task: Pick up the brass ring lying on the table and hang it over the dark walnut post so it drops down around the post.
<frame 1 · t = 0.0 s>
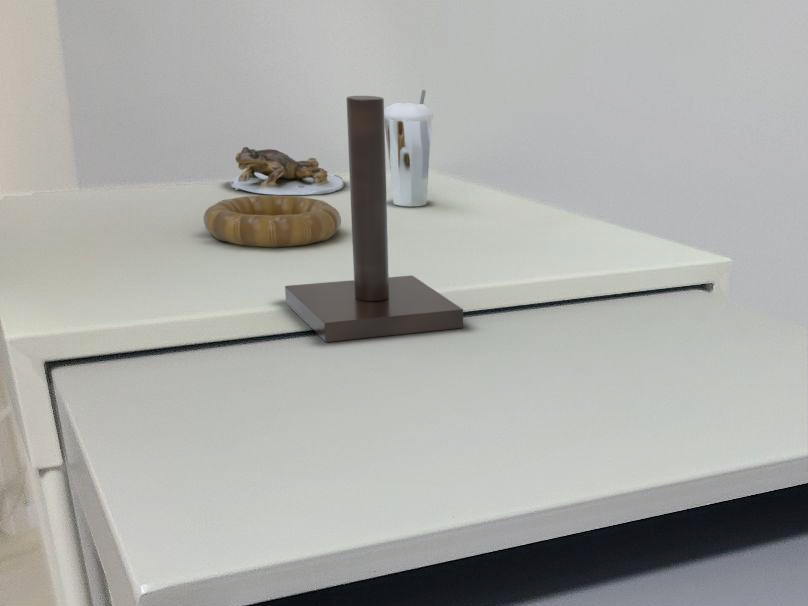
post: (372, 315, 70), on the cabinet
ring: (273, 220, 89), point 1 cm above the cabinet
milkshake: (412, 205, 104), on the cabinet
frog figurine: (287, 187, 109), on the cabinet
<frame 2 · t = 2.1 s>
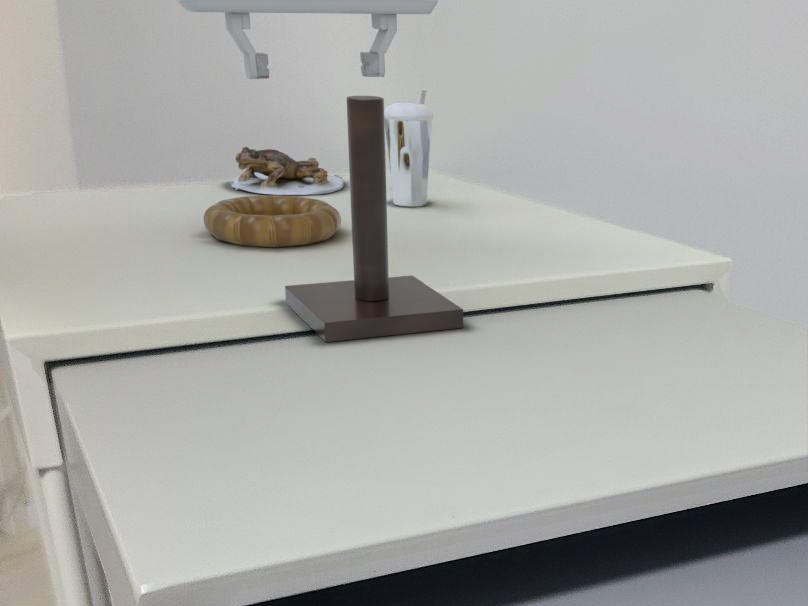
hand: (316, 77, 85), 12 cm above the cabinet, tool pointing down, fingers open, 8 cm apart
nothing on the cabinet moved.
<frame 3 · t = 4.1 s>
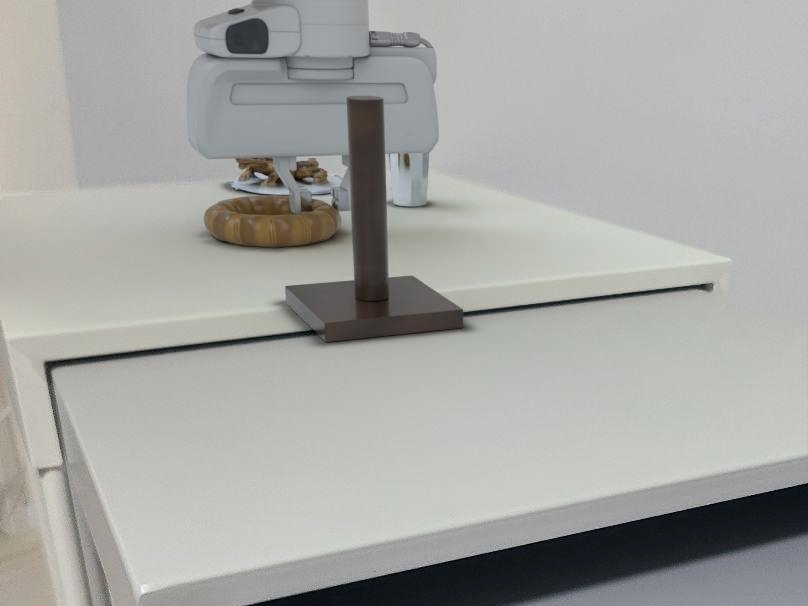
hand: (321, 211, 90), 2 cm above the cabinet, tool pointing down, fingers closed on ring, 2 cm apart
ring: (273, 220, 89), point 1 cm above the cabinet, touching gripper
everything else where it was.
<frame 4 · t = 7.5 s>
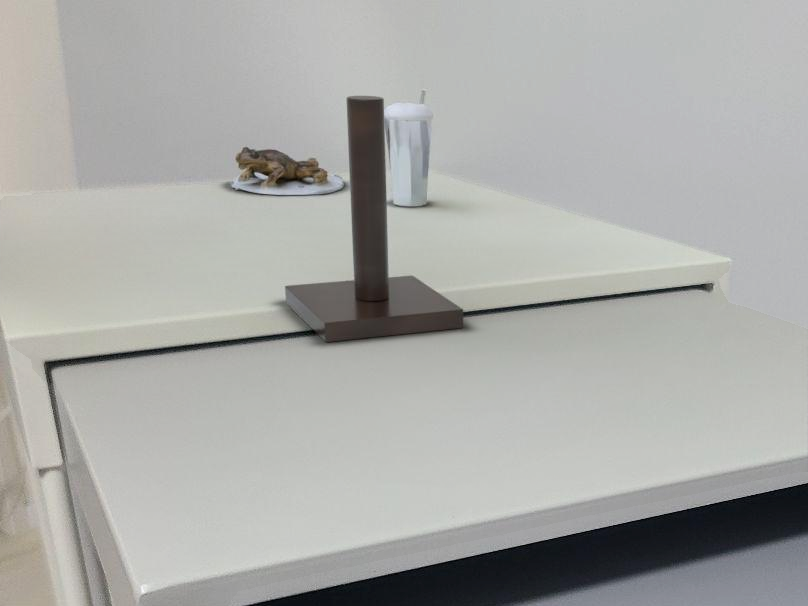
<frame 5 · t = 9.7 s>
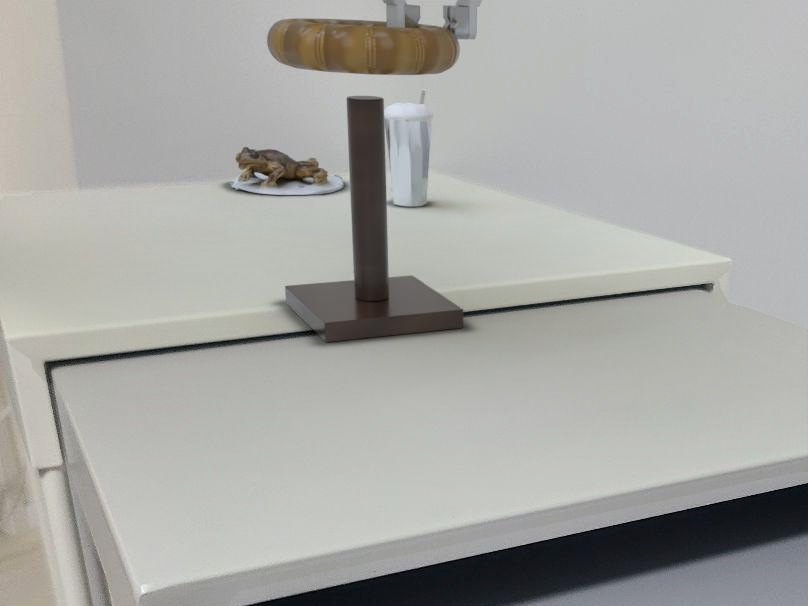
hand: (431, 38, 64), 16 cm above the cabinet, tool pointing down, fingers closed on ring, 2 cm apart
ring: (365, 45, 62), point 16 cm above the cabinet, touching gripper
everything else where it was.
when the fingers open (12 cm above the cabinet, at t = 11.4 s): ring drops 9 cm, resting on post.
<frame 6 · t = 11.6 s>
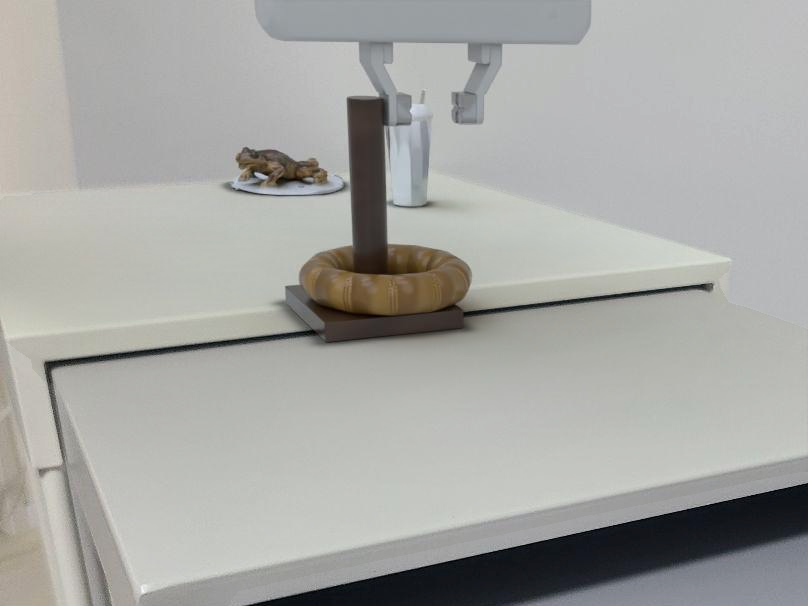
hand: (432, 124, 66), 12 cm above the cabinet, tool pointing down, fingers open, 3 cm apart
ring: (386, 277, 69), point 2 cm above the cabinet, touching post
everything else where it was.
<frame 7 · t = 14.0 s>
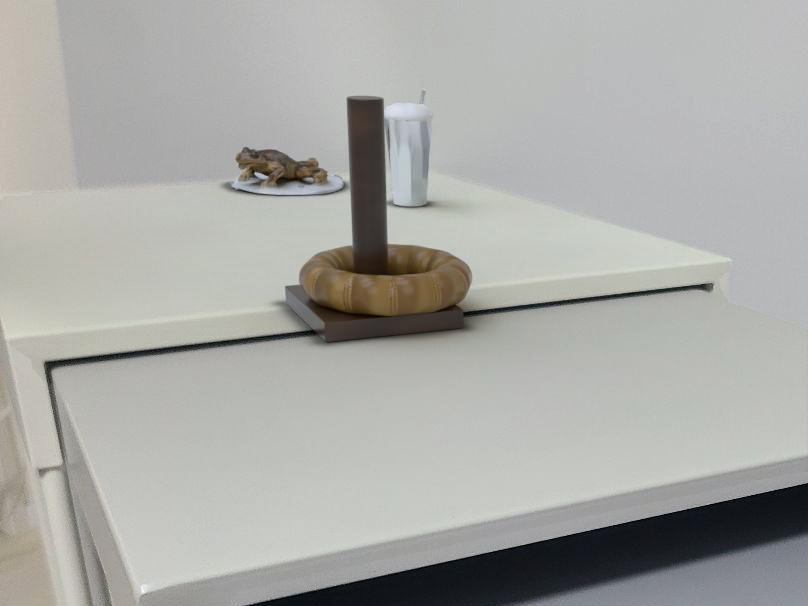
nothing on the cabinet moved.
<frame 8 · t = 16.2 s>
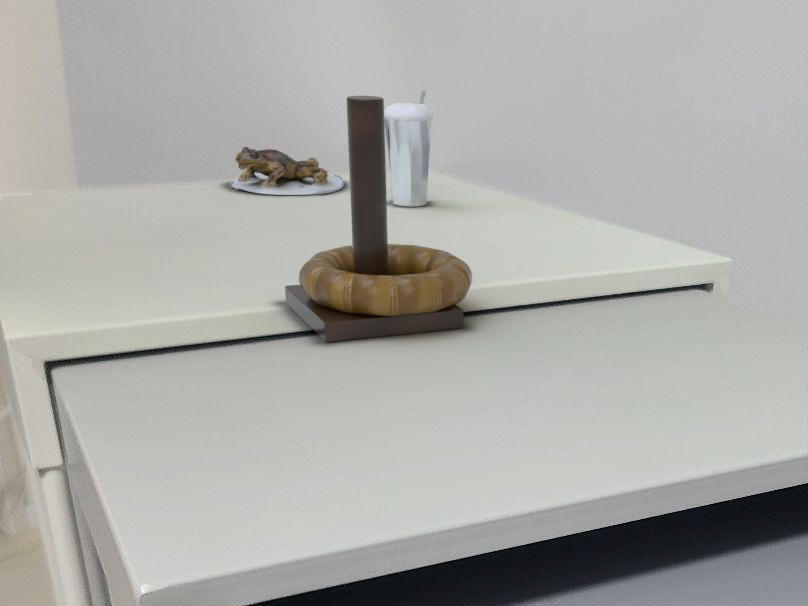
nothing on the cabinet moved.
at the end: ring 1.0 cm from the post (horizontally); ring point 2.4 cm above the cabinet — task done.
